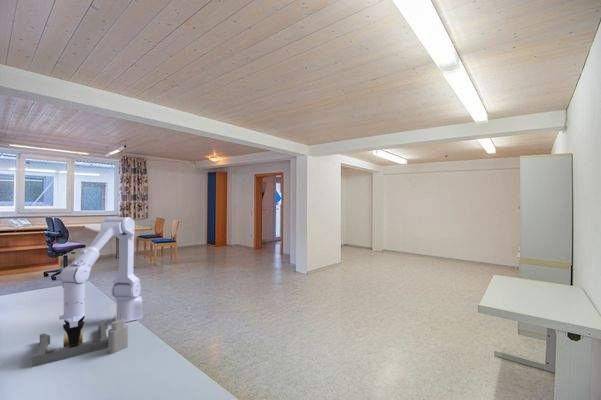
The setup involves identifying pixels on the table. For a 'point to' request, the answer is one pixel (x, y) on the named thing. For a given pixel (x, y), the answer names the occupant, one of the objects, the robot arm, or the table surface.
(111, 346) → the power adapter
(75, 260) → the robot arm
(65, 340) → the brass cube with recess
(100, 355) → the table surface
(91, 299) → the table surface
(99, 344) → the grey square frame
